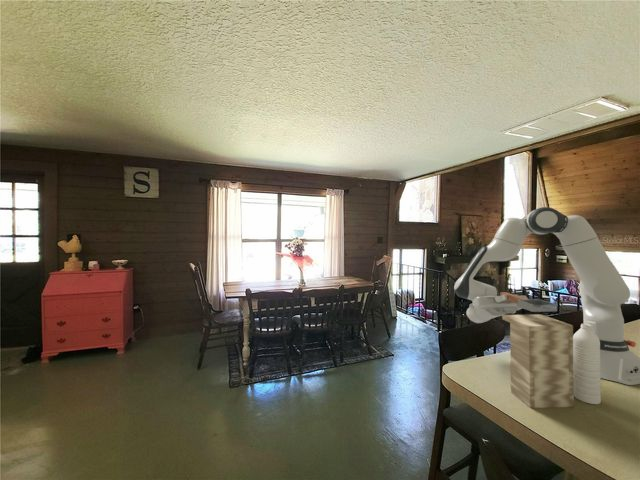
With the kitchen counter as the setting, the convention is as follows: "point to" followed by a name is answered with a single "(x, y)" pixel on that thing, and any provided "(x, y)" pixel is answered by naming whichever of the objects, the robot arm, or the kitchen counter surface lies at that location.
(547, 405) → the stand
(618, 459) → the kitchen counter surface
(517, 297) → the shovel
